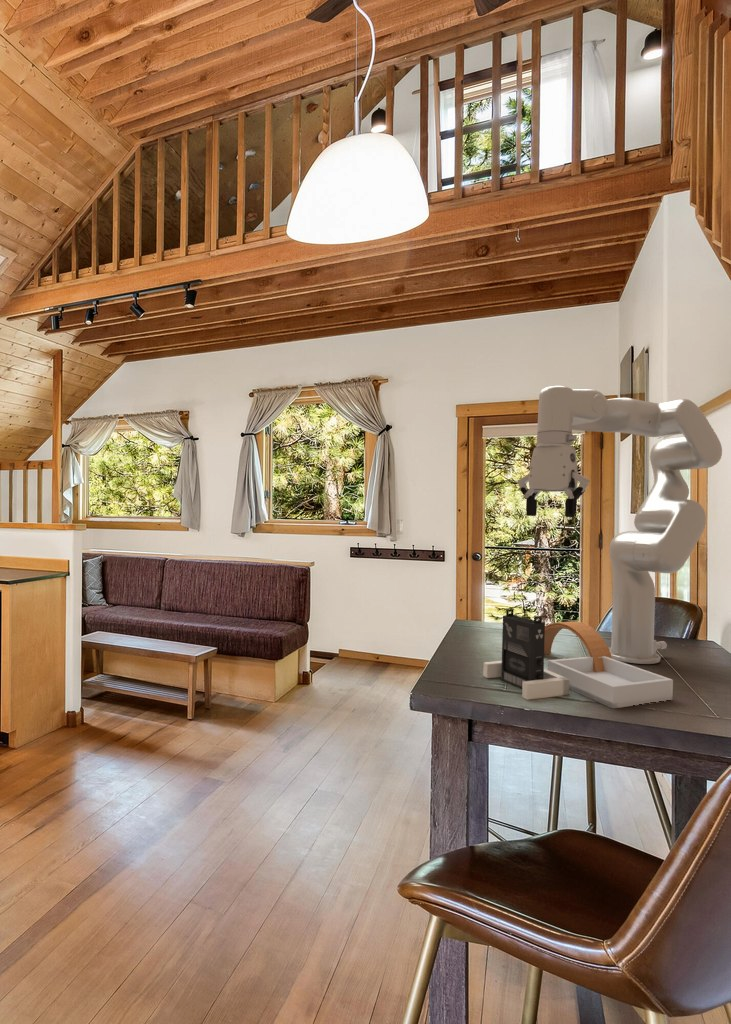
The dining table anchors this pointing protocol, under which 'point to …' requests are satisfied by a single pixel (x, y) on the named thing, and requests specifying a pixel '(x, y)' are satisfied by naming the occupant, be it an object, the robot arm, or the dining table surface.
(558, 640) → the dining table surface
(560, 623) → the arch
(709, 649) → the dining table surface
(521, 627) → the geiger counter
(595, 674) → the parts tray
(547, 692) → the cream piece
